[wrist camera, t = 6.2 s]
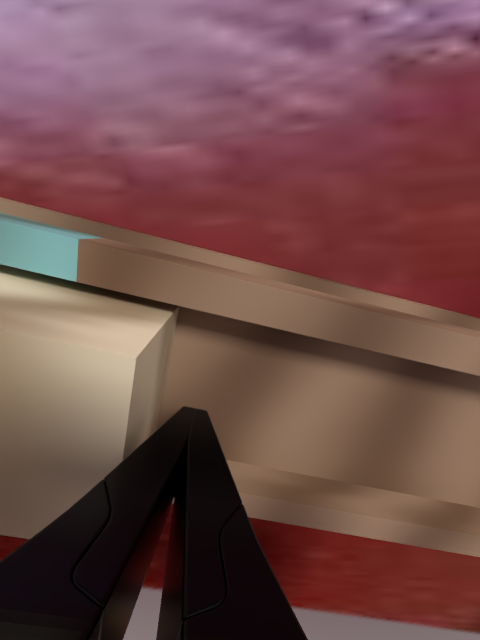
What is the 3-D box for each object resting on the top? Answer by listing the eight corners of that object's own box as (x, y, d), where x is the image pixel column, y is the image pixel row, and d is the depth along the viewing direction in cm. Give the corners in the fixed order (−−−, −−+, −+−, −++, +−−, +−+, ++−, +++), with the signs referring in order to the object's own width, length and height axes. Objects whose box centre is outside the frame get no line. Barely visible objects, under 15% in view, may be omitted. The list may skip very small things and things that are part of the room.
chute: (586, 345, 10) (664, 370, 8) (460, 519, 13) (496, 566, 12) (-92, 173, 8) (-189, 156, 6) (-58, 423, 11) (-117, 461, 10)
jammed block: (179, 305, 9) (136, 357, 5) (154, 440, 11) (109, 551, 7) (-2, 262, 9) (-193, 287, 5) (4, 412, 10) (-130, 514, 7)
